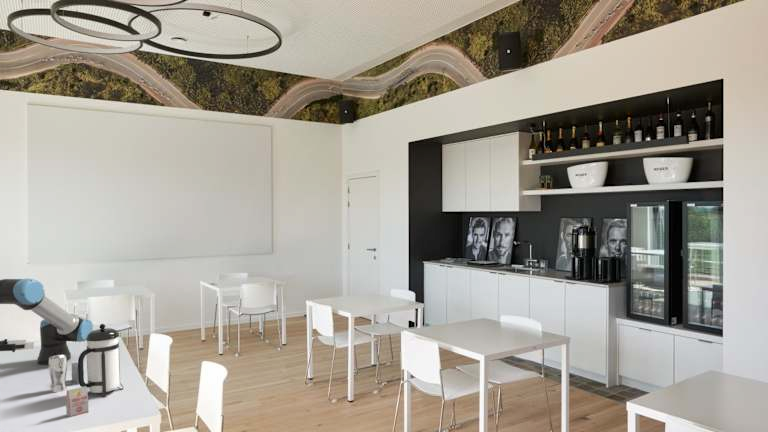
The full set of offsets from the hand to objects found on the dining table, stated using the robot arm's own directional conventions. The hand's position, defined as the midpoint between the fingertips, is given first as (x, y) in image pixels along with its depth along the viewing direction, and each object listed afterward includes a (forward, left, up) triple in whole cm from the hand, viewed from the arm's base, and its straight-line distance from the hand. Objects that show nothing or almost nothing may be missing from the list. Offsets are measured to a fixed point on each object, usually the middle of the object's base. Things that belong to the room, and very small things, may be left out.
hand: (29, 343), depth 227 cm
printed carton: (+12, +38, -23) cm, 46 cm away
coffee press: (-9, +30, -23) cm, 38 cm away
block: (-19, +6, -22) cm, 30 cm away
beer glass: (-8, +7, -23) cm, 25 cm away
